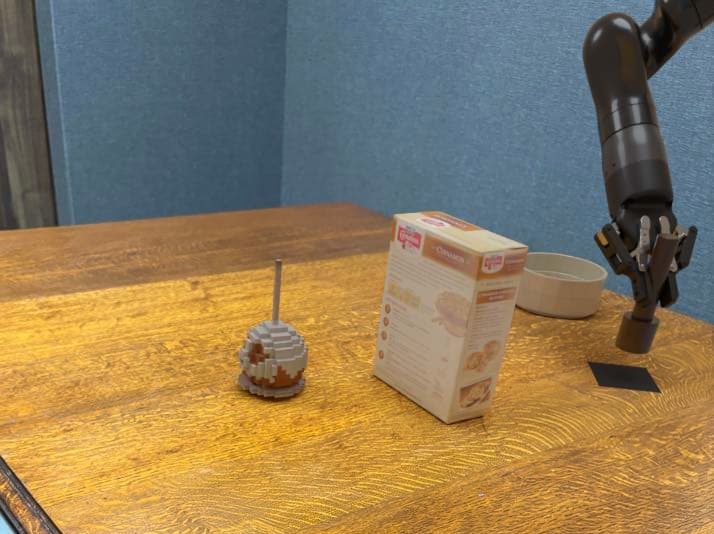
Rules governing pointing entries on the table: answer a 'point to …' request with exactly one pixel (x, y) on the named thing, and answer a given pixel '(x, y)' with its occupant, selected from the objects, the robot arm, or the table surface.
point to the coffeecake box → (447, 312)
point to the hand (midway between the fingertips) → (657, 304)
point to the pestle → (641, 321)
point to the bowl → (560, 285)
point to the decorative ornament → (273, 354)
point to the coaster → (623, 377)
